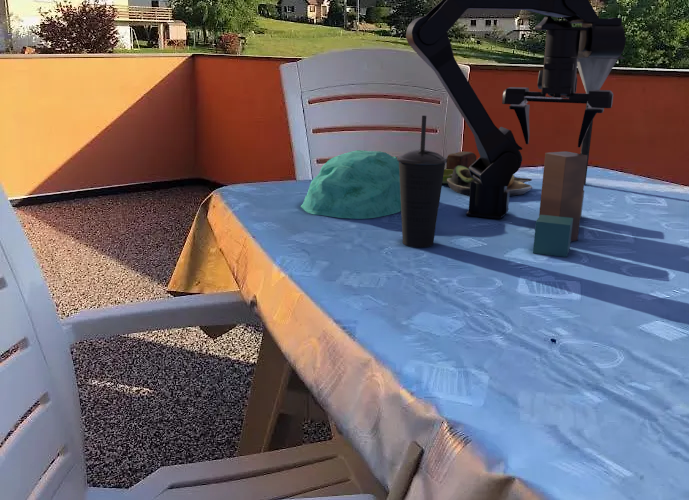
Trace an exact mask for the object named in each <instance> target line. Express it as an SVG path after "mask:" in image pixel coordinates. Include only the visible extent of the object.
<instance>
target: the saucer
mask: <svg viewBox="0 0 689 500" xmlns="http://www.w3.org/2000/svg"><path fill="white" fill-rule="evenodd" d="M451 174H453V170H449V169H446V168H444V175H443V181H442V184H447V185H448V183H447V178H452V176H449V175H451Z"/></svg>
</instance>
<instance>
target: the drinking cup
mask: <svg viewBox="0 0 689 500" xmlns="http://www.w3.org/2000/svg"><path fill="white" fill-rule="evenodd" d="M420 129H421V130H420V147H419V148H420V149H413V150H409V151H407V152H404V153H403V154H401V155H398V156H396V157H397V161H398V162H399V176H400V197H401V211H400V213H401V214H400V215H401V235H402V236H401V237H402V244H403V245H404V246H407V247H411V248H427V247H428V248H429V247H432V246H434V242H435V241H434V240H435V235H436V234H435V233H436V226H437V221H438V214H439V208H440V201H441V196H442V195H441V194H442V188H443V187H442V186H443V183H442V181H443V175H444V169H446V167H445V166H446V163H447V157H446V156H443V155H442V154H440V153H438V152H436V151H434V150H429V149H426V132H427V115H421V128H420Z"/></svg>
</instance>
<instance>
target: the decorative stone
mask: <svg viewBox="0 0 689 500" xmlns="http://www.w3.org/2000/svg"><path fill="white" fill-rule="evenodd" d="M397 157H398V156H392V155H391V154H389V153H388V152H384V151H382V150H361V149H357V150H352V151H348V152H345V153H342V154H339V155H336V156H334V157H332V158H329V159H328V160H327V161H326V162H325V163H324V164H322V166H321V168H320V170H319V172H318V174H317V175H316V176H315V177H313V178H312V180H311V182H310V184H309V187H308V190H307V193H306V195H305V197H304V199H303V203H302V204H301V205H300V208H302V210H303V211H304V212H306V213H308V214H311V215H315V216H325V217H331V218H332V217H333V218H338V219H352V220H353V219H354V220H355V219H356V220H357V219H358V220H364V219H365V220H366V219H367V220H368V219H376V218H381V217H386V216H390V215H393V214H398V213H401V197H400V176H399V162H398V161H397Z"/></svg>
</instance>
